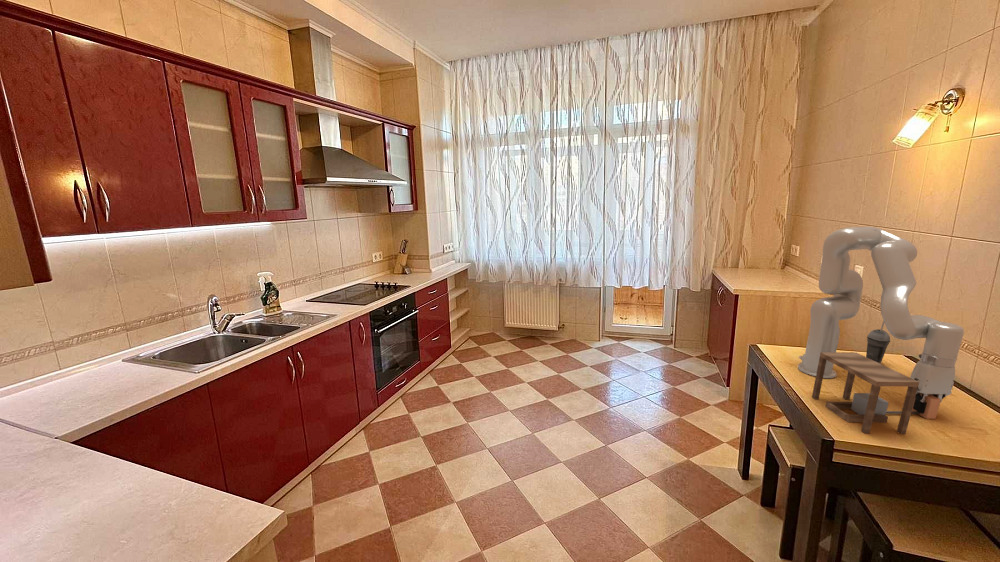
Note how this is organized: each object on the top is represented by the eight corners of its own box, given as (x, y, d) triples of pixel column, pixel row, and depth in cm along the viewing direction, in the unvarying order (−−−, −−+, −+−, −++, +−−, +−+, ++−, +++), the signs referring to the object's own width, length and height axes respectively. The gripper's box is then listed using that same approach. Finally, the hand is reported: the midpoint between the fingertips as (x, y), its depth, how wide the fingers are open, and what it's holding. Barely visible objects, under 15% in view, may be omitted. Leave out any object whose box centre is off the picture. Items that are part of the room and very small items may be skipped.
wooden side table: (811, 397, 145) (820, 352, 141) (846, 397, 145) (856, 352, 141) (864, 433, 123) (876, 381, 120) (905, 434, 123) (919, 382, 119)
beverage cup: (880, 362, 174) (890, 318, 170) (887, 369, 168) (898, 323, 163) (858, 359, 177) (868, 316, 173) (865, 365, 171) (875, 321, 166)
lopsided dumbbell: (850, 408, 137) (854, 390, 135) (918, 409, 137) (923, 390, 135) (866, 418, 131) (870, 399, 130) (937, 419, 131) (942, 400, 129)
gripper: (951, 355, 133) (937, 405, 137) (900, 355, 133) (888, 405, 137) (977, 365, 126) (961, 418, 130) (923, 364, 126) (910, 417, 130)
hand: (924, 410), depth 133 cm, fingers closed on lopsided dumbbell, 3 cm apart
